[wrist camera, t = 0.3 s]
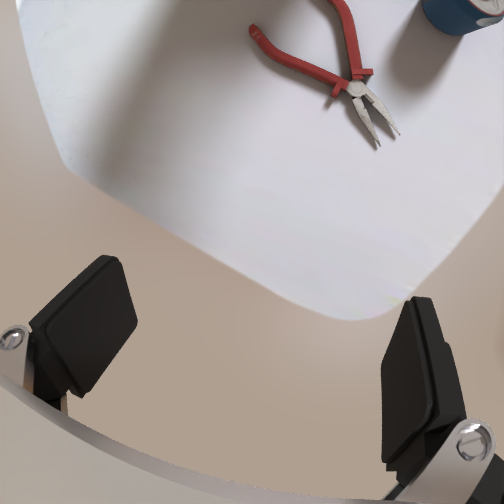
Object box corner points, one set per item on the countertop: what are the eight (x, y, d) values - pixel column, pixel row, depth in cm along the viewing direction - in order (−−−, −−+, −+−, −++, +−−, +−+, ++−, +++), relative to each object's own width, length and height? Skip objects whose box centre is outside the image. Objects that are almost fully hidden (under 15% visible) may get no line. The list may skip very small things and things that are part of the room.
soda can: (472, 41, 22) (519, 30, 12) (423, 32, 24) (459, 11, 14) (463, -5, 19) (503, -30, 9) (414, -15, 21) (443, -50, 11)
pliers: (349, 162, 36) (351, 167, 34) (247, 32, 30) (241, 28, 28) (425, 116, 30) (432, 118, 28) (322, -18, 25) (321, -25, 22)
